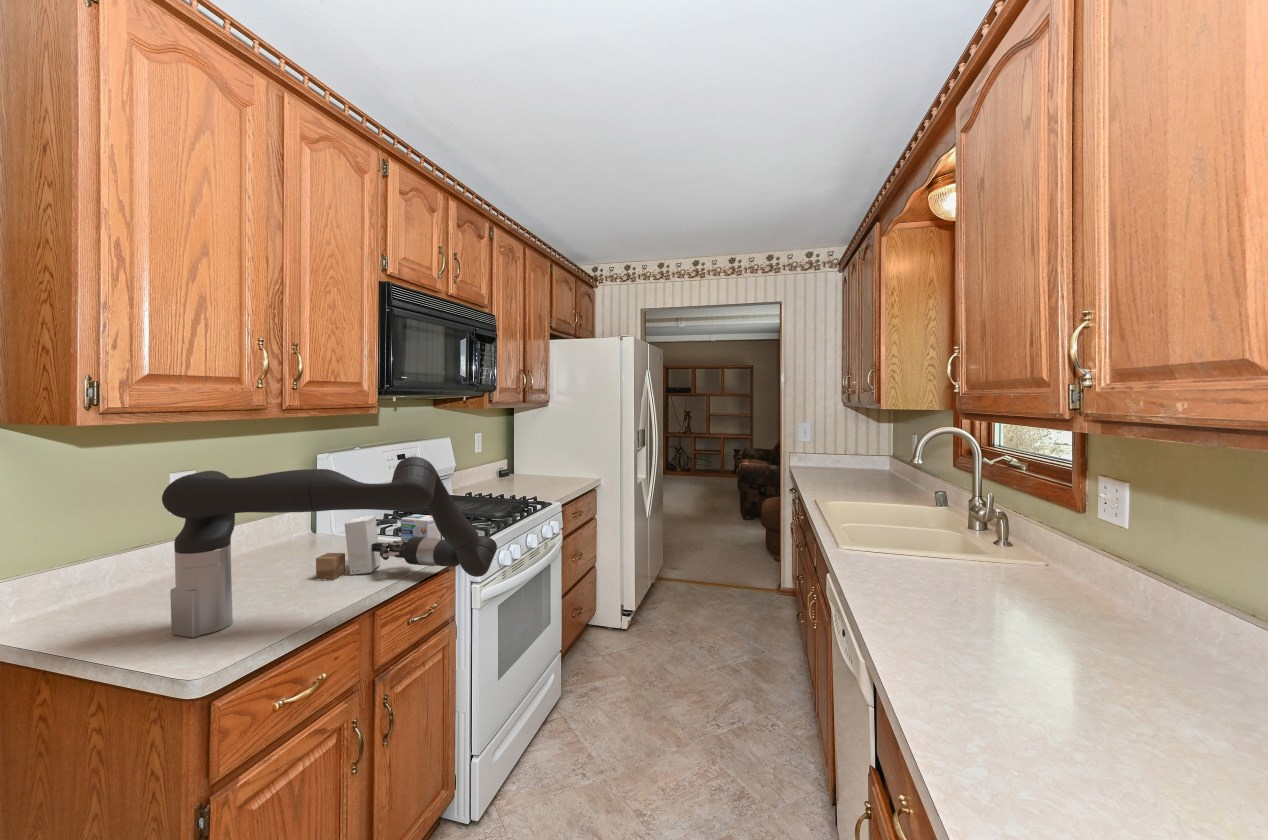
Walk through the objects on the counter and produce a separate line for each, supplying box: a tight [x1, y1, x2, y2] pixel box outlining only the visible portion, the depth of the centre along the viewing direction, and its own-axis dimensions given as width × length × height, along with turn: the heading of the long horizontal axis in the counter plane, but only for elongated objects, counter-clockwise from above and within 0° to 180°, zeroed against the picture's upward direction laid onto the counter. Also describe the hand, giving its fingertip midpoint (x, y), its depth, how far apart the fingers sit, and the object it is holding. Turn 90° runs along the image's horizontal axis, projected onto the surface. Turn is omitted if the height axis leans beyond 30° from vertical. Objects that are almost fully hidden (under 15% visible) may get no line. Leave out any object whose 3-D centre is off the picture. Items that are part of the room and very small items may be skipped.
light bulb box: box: [400, 513, 442, 540], centre depth 169 cm, size 11×7×11 cm, turn 73°
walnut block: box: [315, 552, 346, 581], centre depth 143 cm, size 5×5×6 cm
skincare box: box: [344, 514, 382, 575], centre depth 149 cm, size 8×6×15 cm
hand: (373, 546), depth 148 cm, fingers closed
